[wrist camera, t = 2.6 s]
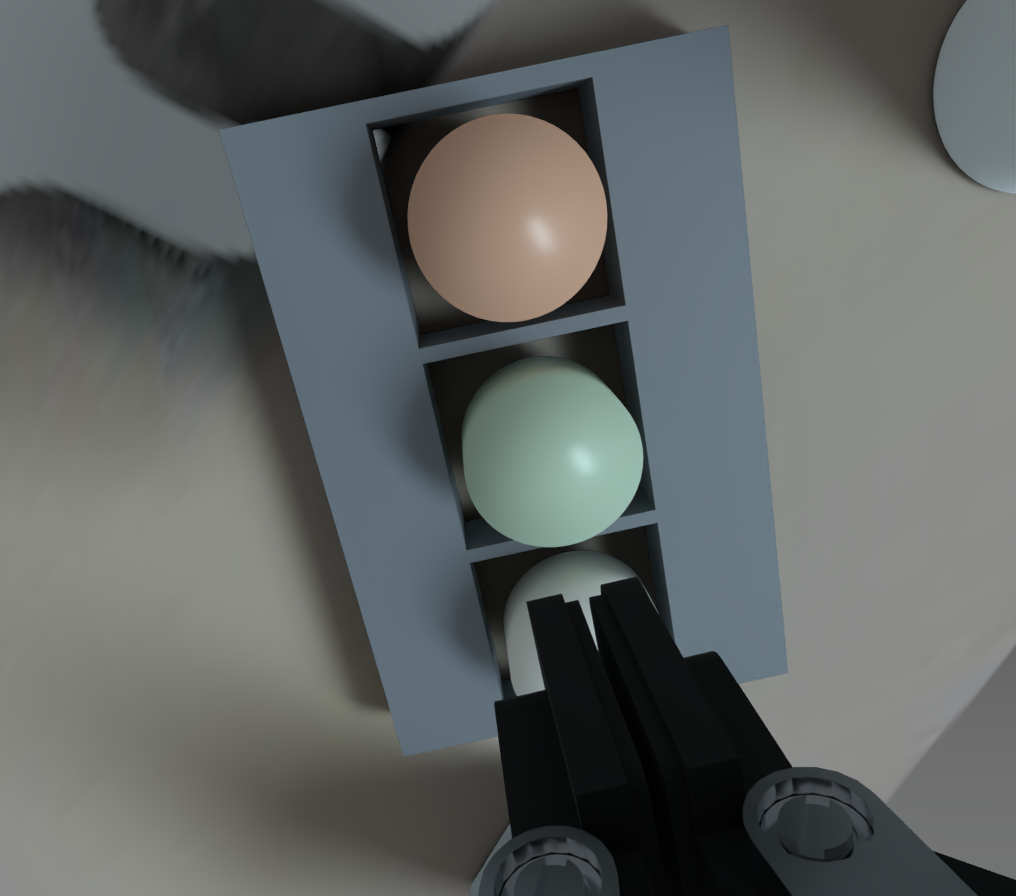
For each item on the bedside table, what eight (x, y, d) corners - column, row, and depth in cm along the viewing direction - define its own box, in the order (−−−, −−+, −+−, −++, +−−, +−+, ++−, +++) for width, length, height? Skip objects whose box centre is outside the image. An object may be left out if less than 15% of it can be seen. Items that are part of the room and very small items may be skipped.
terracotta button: (572, 105, 19) (590, 94, 16) (600, 288, 20) (621, 300, 18) (392, 143, 19) (385, 136, 16) (433, 323, 20) (432, 339, 18)
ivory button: (639, 536, 22) (661, 575, 20) (658, 664, 24) (682, 714, 22) (489, 568, 22) (495, 611, 20) (518, 695, 24) (526, 747, 22)
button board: (701, 40, 20) (728, 24, 18) (762, 637, 26) (788, 672, 24) (240, 135, 20) (218, 129, 18) (406, 714, 26) (403, 756, 24)
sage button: (608, 340, 21) (629, 359, 18) (632, 492, 22) (654, 526, 20) (445, 375, 21) (446, 398, 18) (479, 524, 22) (484, 563, 20)
